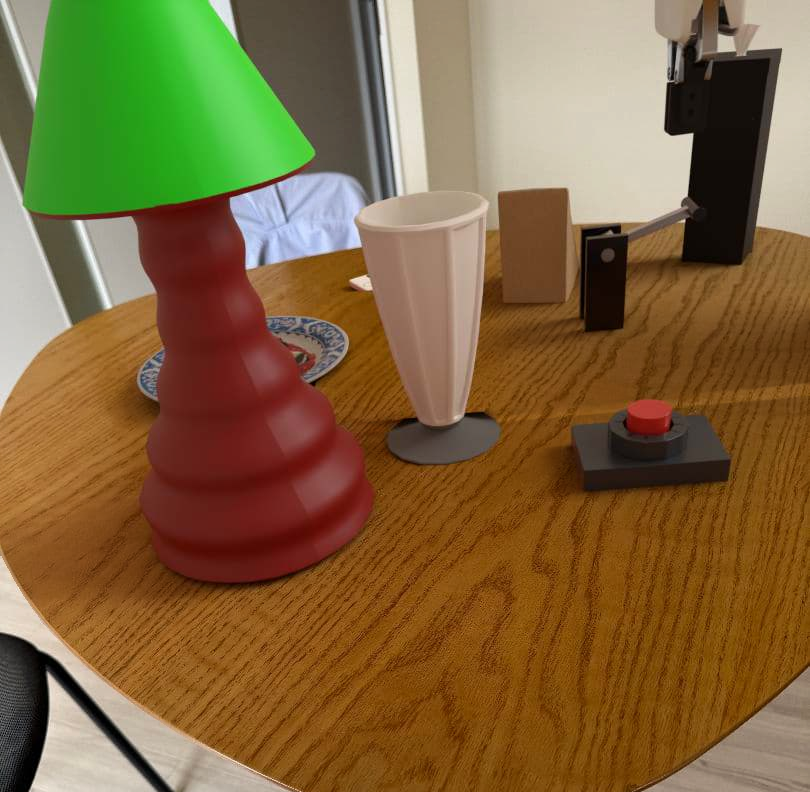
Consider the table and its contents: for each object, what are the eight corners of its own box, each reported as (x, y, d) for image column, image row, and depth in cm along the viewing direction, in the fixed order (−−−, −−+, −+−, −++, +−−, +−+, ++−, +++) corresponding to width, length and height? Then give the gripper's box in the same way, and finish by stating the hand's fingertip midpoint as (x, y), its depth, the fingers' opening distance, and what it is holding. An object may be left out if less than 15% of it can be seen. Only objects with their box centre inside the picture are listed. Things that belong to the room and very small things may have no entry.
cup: (412, 478, 72) (380, 237, 59) (369, 428, 81) (334, 209, 68) (522, 443, 75) (515, 206, 62) (470, 398, 83) (454, 182, 71)
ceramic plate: (323, 317, 109) (319, 296, 107) (377, 387, 88) (373, 362, 87) (137, 360, 104) (130, 338, 102) (148, 444, 83) (140, 419, 82)
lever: (696, 210, 87) (691, 189, 86) (708, 222, 83) (703, 201, 82) (590, 255, 91) (584, 236, 89) (597, 269, 87) (591, 249, 85)
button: (664, 415, 69) (666, 397, 68) (674, 435, 66) (676, 416, 65) (622, 418, 69) (623, 400, 68) (630, 438, 66) (631, 420, 65)
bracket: (644, 315, 96) (651, 215, 89) (659, 341, 90) (667, 235, 83) (546, 325, 97) (545, 227, 90) (553, 350, 91) (553, 247, 84)
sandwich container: (582, 271, 111) (584, 157, 102) (568, 312, 100) (569, 187, 91) (522, 272, 114) (519, 161, 105) (501, 312, 102) (496, 190, 93)
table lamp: (210, 624, 59) (-77, -182, 32) (121, 517, 72) (-131, -110, 46) (419, 515, 67) (329, -196, 40) (304, 438, 81) (180, -131, 54)
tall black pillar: (740, 275, 103) (775, 23, 87) (679, 271, 107) (701, 29, 90) (752, 256, 109) (787, 15, 92) (693, 253, 112) (717, 21, 96)
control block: (702, 435, 72) (707, 395, 70) (727, 481, 66) (734, 440, 63) (570, 445, 73) (571, 407, 71) (583, 492, 67) (584, 452, 65)
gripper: (795, -161, 52) (757, 142, 63) (724, -138, 64) (703, 113, 75) (679, -141, 53) (662, 155, 63) (631, -123, 65) (623, 124, 75)
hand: (684, 131), depth 69 cm, fingers closed
